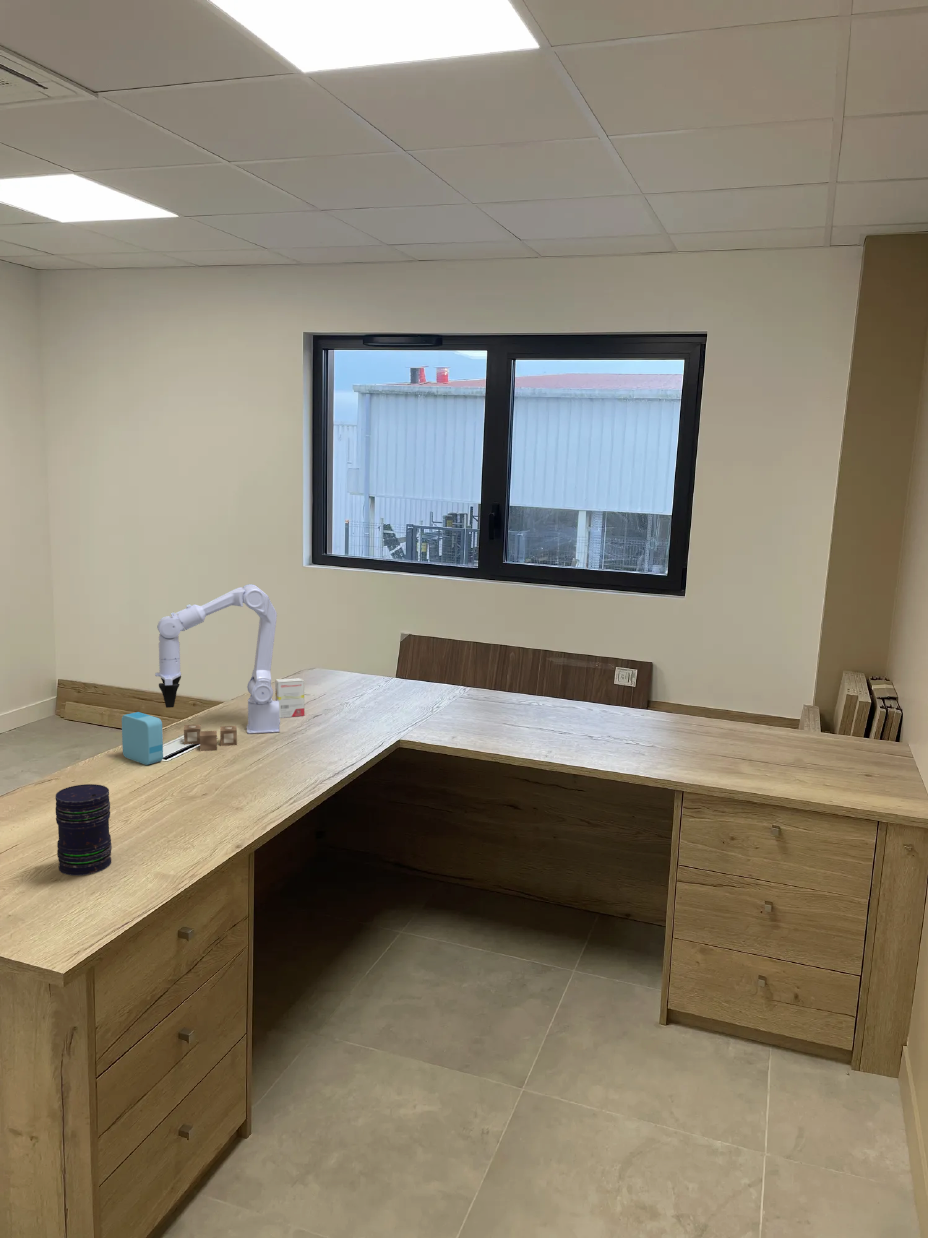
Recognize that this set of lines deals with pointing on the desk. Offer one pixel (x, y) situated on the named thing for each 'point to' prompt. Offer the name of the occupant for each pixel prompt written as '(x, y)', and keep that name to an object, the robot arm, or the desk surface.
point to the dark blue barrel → (83, 829)
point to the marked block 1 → (192, 734)
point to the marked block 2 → (228, 735)
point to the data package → (142, 738)
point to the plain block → (208, 740)
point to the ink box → (290, 697)
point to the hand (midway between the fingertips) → (170, 703)
